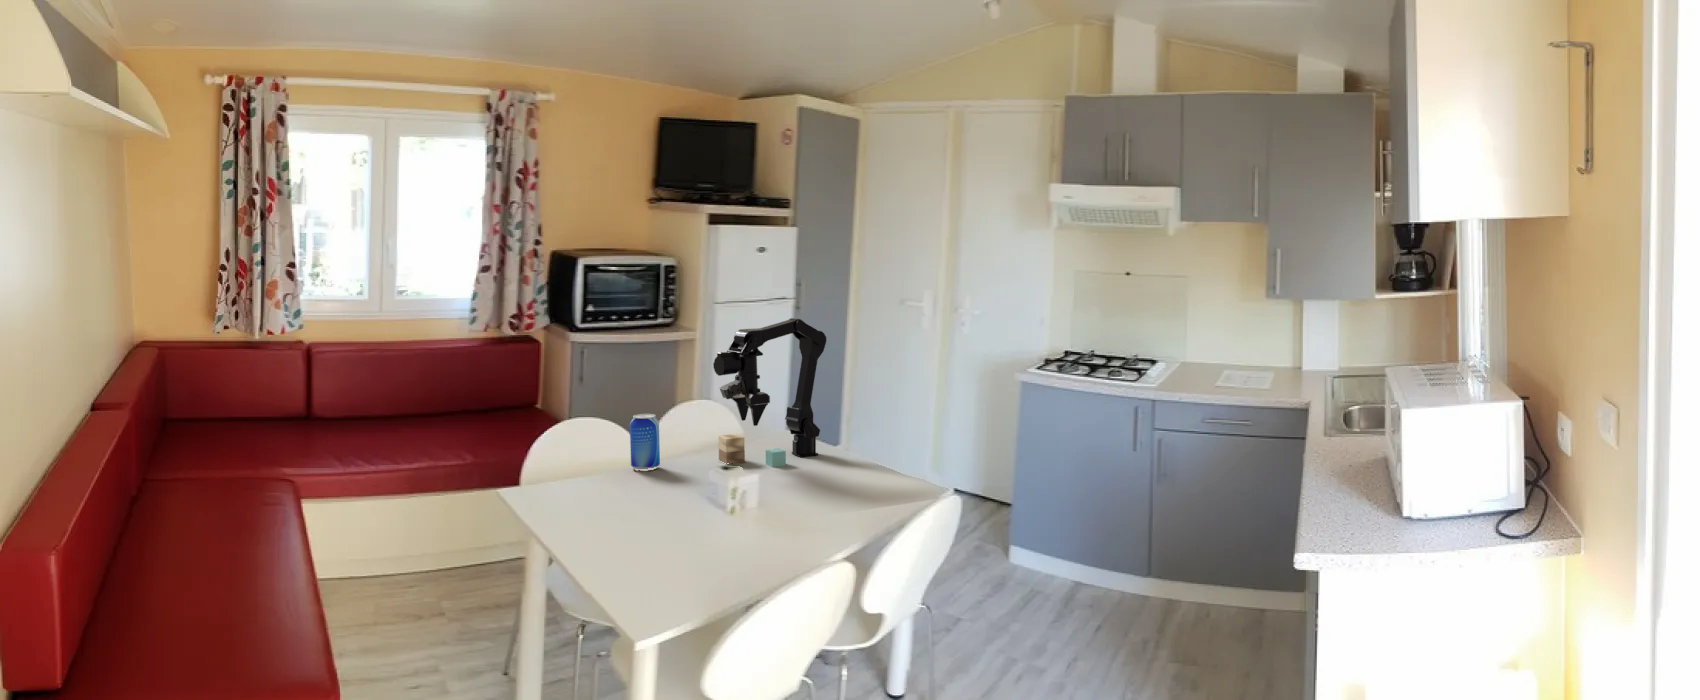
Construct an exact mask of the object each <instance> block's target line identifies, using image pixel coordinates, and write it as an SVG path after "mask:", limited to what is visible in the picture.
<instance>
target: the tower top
mask: <svg viewBox="0 0 1700 700" xmlns="http://www.w3.org/2000/svg"><path fill="white" fill-rule="evenodd" d="M719 449H720V450H722V451H724V452H734V451H743V450H745V449H746V448H745V437H744V436H743V435H740V434H738V433H734V434H733V433H732V434H721V435H718V450H719ZM745 451H746V450H745Z"/></svg>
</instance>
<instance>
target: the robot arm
mask: <svg viewBox="0 0 1700 700" xmlns="http://www.w3.org/2000/svg"><path fill="white" fill-rule="evenodd" d="M790 334H792V335H793V336H794V338H796V339H797V340H798V343H799V346H798V347H799V350H800V351H799V352H800V354H801V363H800V369H799V375H798V381H797V389H796V394H795V399H794V402H793V405H792V406H787V408H786V414H785V415H786V416H785V418H784V420H786V421H785V423H786V426H787V428H788V430H789V432H790V435H793V440H792V451H791V454H792V455H795V456H797V457H799V458H804V457H812V456H819V453H818V452H817V448H816V447H817V439H816V438H817V437H819V436H820V434H821V433H820V432H821V429H820V428H819V427H818V426H817V424H815V422H814V412H813V408H812V405H811V404H812V398H813V390H814V385H815V380H816V379H815V378H816V373H817V365H818V359H819V358H820V357H821V356H822V354H823V352H824V351H825V348H826V345H827V339H828V338H827V336H826V334H825V333H824V332H823V331H821V330H818V329H816V328H815V327H813V326H811V325H809V324H808V323H806V322H805V321H804V320H803V319H800V318H793V317H791V318H789V319H787V320H783V321H781V322H777V323H773V324H769V325H766V326H763V327H760V328H742V329H738V330H737V331H735V333H734V336H733V339H732V341H731V342H730V344H729V346H728V348H727V350H726V351H724V352H723V351H719V352H717V353H716V357H715V358H714V361H713V366H712V367H713V370H714V373H715V374H716V376H719V377H720V376H726V375H734V374H736V375H734V380H733V381H730V382H727V383H725V384H724V385H722V386H720V387H719V390H720V394H721V396H722V398H723V399H726V400H732V401H734V402H735V404H736V407H737V409H738V413H739V417H740V420H741V421H746V420H747V416H748V411H749V409H750V413H751V420H752V425H753V426H754V427H756V426H758V425H759V422H760V421H761V418H762V415H763V413H764V411H765V409H766V407H767V406H768V405H769V404H770V403H771V395H769V394H768V393H766V392H763V391H761V388H759V382H758V379H761V375H760V374H758V357H761V356H763V355H764V353H763V352H762V351H761V350H759V348H760V347H763V345H764V344H765V343H766V342H769V341H771V340H774V339H777V338H781V337H785V336H787V335H790Z"/></svg>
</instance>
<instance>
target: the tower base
mask: <svg viewBox="0 0 1700 700" xmlns="http://www.w3.org/2000/svg"><path fill="white" fill-rule="evenodd" d="M745 452H746V450H743V451H734V452H724V451H722V450H720V449H719V448H718V461H719V460H720V461H722V462H724V463H726V464H727V463H729V464H730V465H736V464H738V463H739V464H745V462H746V455H745ZM720 461H719V462H720ZM722 462H721V463H722ZM724 463H723V464H724ZM731 463H733V464H731ZM726 464H725V465H726Z"/></svg>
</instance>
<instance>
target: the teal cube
mask: <svg viewBox="0 0 1700 700" xmlns="http://www.w3.org/2000/svg"><path fill="white" fill-rule="evenodd" d="M786 458H787V454H786V450H784V449H781V448H769V449H765V465H767V466H769V467H770V468H775V467H784V466H786V464H787V462H786V461H787V459H786Z"/></svg>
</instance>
